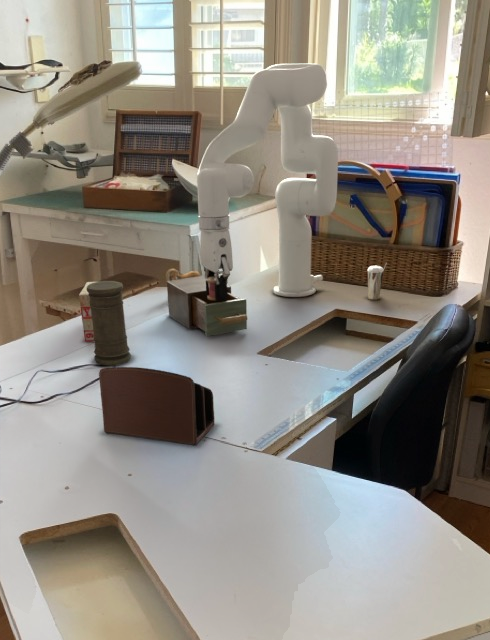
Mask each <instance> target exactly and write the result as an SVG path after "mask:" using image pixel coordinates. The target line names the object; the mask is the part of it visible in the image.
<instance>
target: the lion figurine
mask: <svg viewBox="0 0 490 640" xmlns="http://www.w3.org/2000/svg"><path fill="white" fill-rule="evenodd" d="M199 276H202V275H201V274H200V272H199V271H197V270H192V271H189V272H187V273H182V272H180V271H179V270H177V269H176V268H170V269H168V270H167V271H166V272H165V280H166V282H167V281H172V280H179V279H186V278H193V277H199Z"/></svg>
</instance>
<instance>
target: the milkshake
mask: <svg viewBox="0 0 490 640" xmlns="http://www.w3.org/2000/svg"><path fill="white" fill-rule="evenodd" d="M387 264H388V262H385V264H384V267H382V266H380V265H371V266H369V267H368V268H367V269H366V270H367V271H366V272H367V299H369V300H372V301H373V300H379V299H380V297H381V290H382V282H383V277H384V271H385V268H386V266H387Z"/></svg>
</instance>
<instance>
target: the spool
mask: <svg viewBox="0 0 490 640" xmlns="http://www.w3.org/2000/svg"><path fill="white" fill-rule="evenodd" d="M220 276H221V275H219V278H220ZM207 281H208V282H209V295H208V296H207V298H208V299H209V300H215V284H216V279H215V276H212V277H208V278H207Z"/></svg>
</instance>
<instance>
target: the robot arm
mask: <svg viewBox="0 0 490 640" xmlns="http://www.w3.org/2000/svg"><path fill="white" fill-rule="evenodd" d="M327 87H328V74H327V71H326V70H325V68H324V67H323V65H321V64H319V63H277V64H273V65H270V66H268V67H267V68H265V69H261V70H258V71H256V72H255V73H254V74H253V75H252V76H251V78H250V80H249V83H248V85H247V88H246V91H245V93H244V95H243V98H242V101H241V103H240V106H239V108H238V111H237V114H236V116H235V118H234V120H233V121H232V123H231V124H229V125H228V126H226V127H225V128H224V129H223V130H222V131H221V132H220V133H218V135H216V136H215V137H214V138H213V139H212V140H211V142H210V143H209V144H208V146H207V147H206V149H205V151H204V154H203V155H202V159H201V162H200V164H199V167H198V171H197V174H196V184H197V185H196V188H197V189H196V190H197V209H198V212H197V213H198V230H199V231H200V239H199V240H200V242H199V243H200V244H199V245H200V248H199V250H200V251H199V252H200V263H201V265H202V268H203V271H204V276H205V279H207V278H208V277H212V276H215V279H216V284H215V300H217V301H218V300H225V299H227V285H228V283H229V281H228V280H229V277H230V276H231V272H232V271H233V269H234V262H233V247H232V239H231V233H230V202H229V200H230V199H231V198H243V197H245V196H247V195H248V194H249V193H250V192H251V191H252V189H253V187H254V182H255V176H254V173H253V171H252V170H251V169H250V167H248V166H247V165H245V164H240V163H228V162H227V160H228V159H229V158H230V157H232V156H233V155H234V154H236V153H238V152H240V151H243V150H245V149H248V148H250V147H253V146H255V145H257V144H258V143H260V142H261V141H264V139H265V138H266V136H267V132H268V130H269V127H270V126H271V125H270V124H271V122H272V119H273V117H274V115H275V112H276V110H278V114H279V118H280V162H281V166H282V168H283V170H284V171H285V172H288V173H292V174H303V175H305V174H306V175H314V177H315V178H306V177H304V178H303V177H288V178H286V179H283V180H281V181H280V182H279V183H278V184H277V186H276V189H275V194H274V195H275V196H274V197H275V198H274V199H275V205H276V206H275V207H276V210H277V211H276V213H277V218H278V285H275V286H274V287H273V293H274V294H275V295H276V296H280V297H285V298H301V297H303V298H304V297H308V296H311V295H314V294H315V293H316V286H314V285H315V283H319V282H322V281H323V279H324V277H323V275H322V274H317V275H313V274H312V237H313V236H312V235H313V232H312V231H313V230H312V226H311V223H310V221H309V219H308V217H307V216H309V217H310V216H311V217H329V216H330V215H331V214H332V213H333V212H334V210H335V207H336V204H337V198H338V197H337V196H338V176H339V175H338V173H339V172H338V171H339V151H338V147H337V144H336V142H335V140H334V139H333V138H332V137H330V136H327V135H314V133H313V114H312V111H311V107H310V104H313V103H316V102H318V101H320V100H321V99H322V98H323V96H325V93H326V91H327V89H328V88H327ZM219 276H220V278H219ZM206 295H209V282H208V281H207V280H206Z"/></svg>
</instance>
